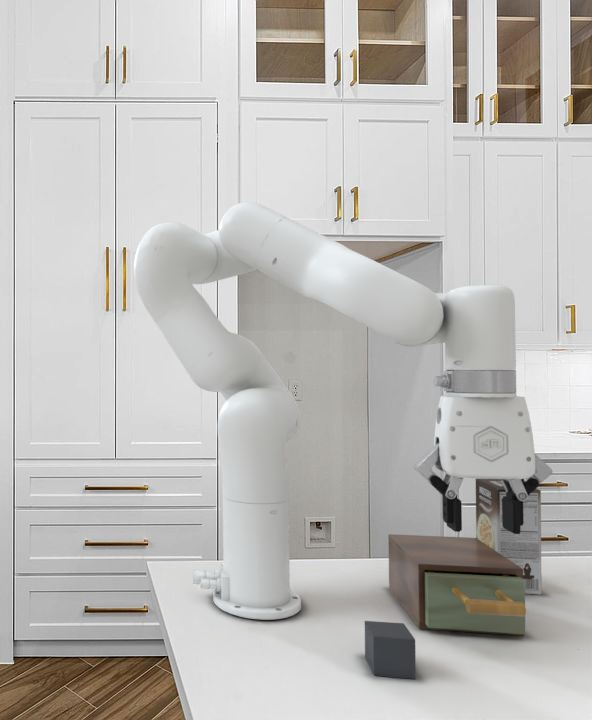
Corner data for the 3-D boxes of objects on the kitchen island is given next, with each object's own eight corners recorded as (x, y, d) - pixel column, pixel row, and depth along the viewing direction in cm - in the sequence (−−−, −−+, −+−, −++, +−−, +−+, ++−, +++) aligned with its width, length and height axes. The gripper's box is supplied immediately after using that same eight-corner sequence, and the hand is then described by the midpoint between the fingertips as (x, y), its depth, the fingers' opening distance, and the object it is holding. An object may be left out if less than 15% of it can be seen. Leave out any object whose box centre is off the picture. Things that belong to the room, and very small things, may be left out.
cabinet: (524, 636, 77) (523, 568, 77) (419, 629, 79) (418, 563, 80) (477, 594, 91) (476, 537, 92) (389, 589, 94) (388, 534, 94)
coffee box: (474, 573, 101) (473, 477, 101) (517, 575, 100) (515, 478, 100) (498, 592, 92) (496, 487, 92) (545, 595, 91) (543, 489, 91)
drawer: (553, 658, 69) (551, 599, 70) (446, 650, 71) (445, 592, 72) (480, 594, 89) (479, 548, 89) (398, 590, 91) (397, 545, 91)
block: (374, 676, 67) (373, 636, 67) (364, 657, 72) (364, 620, 72) (416, 679, 67) (415, 639, 67) (404, 660, 71) (403, 623, 71)
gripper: (415, 385, 73) (417, 535, 72) (574, 385, 70) (577, 541, 69) (397, 384, 80) (399, 520, 80) (541, 384, 77) (543, 525, 77)
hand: (482, 528), depth 75 cm, fingers open, 5 cm apart
